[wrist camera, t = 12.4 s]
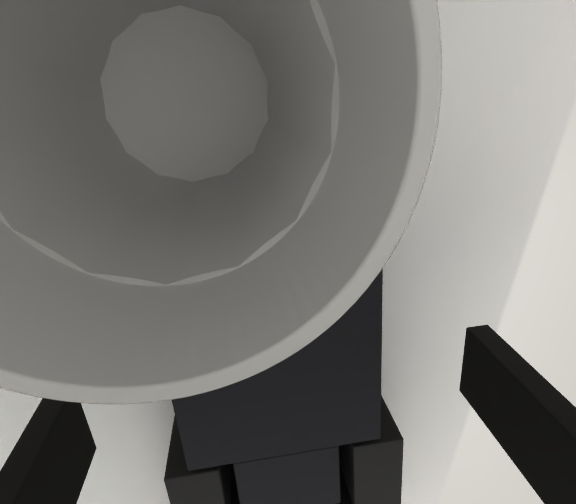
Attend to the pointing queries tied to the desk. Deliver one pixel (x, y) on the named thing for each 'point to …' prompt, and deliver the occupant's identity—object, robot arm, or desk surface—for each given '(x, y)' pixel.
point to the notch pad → (352, 464)
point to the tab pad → (294, 413)
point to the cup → (199, 182)
